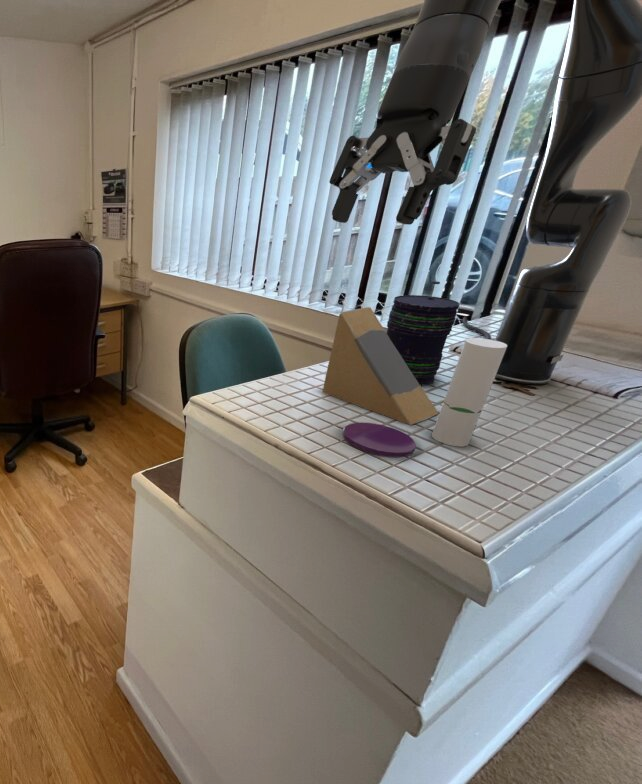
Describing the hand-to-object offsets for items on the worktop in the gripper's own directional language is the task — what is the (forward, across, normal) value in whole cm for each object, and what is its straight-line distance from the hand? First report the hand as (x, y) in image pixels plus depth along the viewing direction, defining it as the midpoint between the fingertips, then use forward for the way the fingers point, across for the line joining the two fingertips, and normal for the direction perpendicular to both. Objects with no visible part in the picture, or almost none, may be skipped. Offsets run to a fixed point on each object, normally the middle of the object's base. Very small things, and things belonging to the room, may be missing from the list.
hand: (368, 222), depth 57 cm
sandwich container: (+24, +6, -27) cm, 37 cm away
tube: (+25, -7, -25) cm, 36 cm away
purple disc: (+28, -4, -16) cm, 32 cm away
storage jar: (+19, +13, -42) cm, 48 cm away
